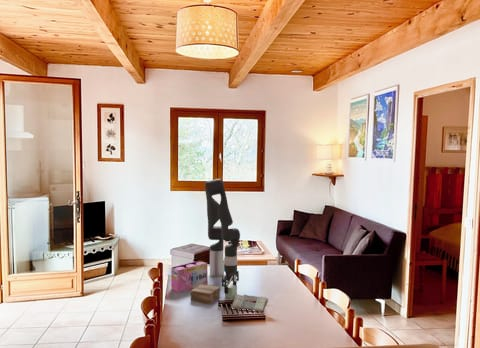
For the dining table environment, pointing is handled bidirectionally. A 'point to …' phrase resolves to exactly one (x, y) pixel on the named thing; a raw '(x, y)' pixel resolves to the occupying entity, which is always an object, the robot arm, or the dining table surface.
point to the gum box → (189, 276)
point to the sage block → (231, 291)
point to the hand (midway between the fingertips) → (230, 291)
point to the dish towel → (242, 304)
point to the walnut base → (205, 294)
